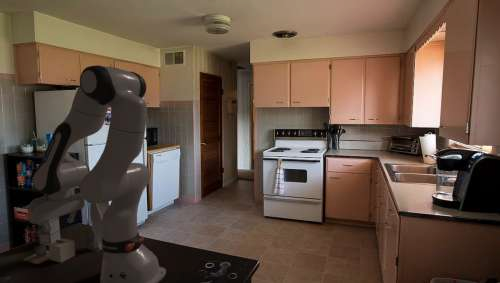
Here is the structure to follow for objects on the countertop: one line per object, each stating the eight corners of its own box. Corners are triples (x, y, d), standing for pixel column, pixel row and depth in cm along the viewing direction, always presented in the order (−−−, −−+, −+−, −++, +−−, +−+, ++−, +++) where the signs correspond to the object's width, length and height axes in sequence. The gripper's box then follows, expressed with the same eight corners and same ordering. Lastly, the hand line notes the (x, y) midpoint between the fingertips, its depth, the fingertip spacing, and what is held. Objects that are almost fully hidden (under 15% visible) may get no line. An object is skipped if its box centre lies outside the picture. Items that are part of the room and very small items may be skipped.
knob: (75, 255, 118) (74, 239, 117) (61, 262, 113) (59, 245, 112) (64, 252, 120) (63, 236, 120) (50, 259, 115) (48, 243, 114)
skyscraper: (103, 240, 132) (100, 179, 129) (116, 244, 128) (113, 181, 126) (86, 248, 124) (82, 184, 122) (98, 252, 121) (95, 186, 118)
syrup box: (61, 240, 132) (59, 209, 130) (51, 246, 126) (48, 213, 124) (49, 240, 132) (47, 208, 131) (38, 246, 126) (36, 213, 125)
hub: (58, 254, 119) (57, 243, 118) (37, 264, 111) (36, 251, 111) (44, 251, 122) (43, 240, 121) (23, 260, 114) (22, 248, 114)
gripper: (35, 201, 103) (37, 238, 105) (86, 187, 122) (87, 219, 124) (23, 198, 105) (26, 235, 107) (75, 185, 124) (76, 216, 126)
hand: (59, 226), depth 115 cm, fingers open, 8 cm apart
